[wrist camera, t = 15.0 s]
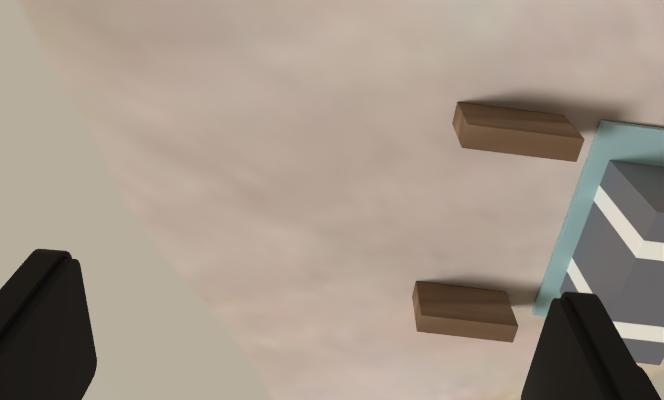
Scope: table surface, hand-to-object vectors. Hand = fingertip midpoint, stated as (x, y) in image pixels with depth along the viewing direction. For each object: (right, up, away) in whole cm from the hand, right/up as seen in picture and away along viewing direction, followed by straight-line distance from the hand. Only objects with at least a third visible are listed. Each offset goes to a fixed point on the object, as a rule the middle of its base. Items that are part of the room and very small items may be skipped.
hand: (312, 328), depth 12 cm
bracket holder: (+11, +2, +30) cm, 32 cm away
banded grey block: (+20, 0, +30) cm, 36 cm away
